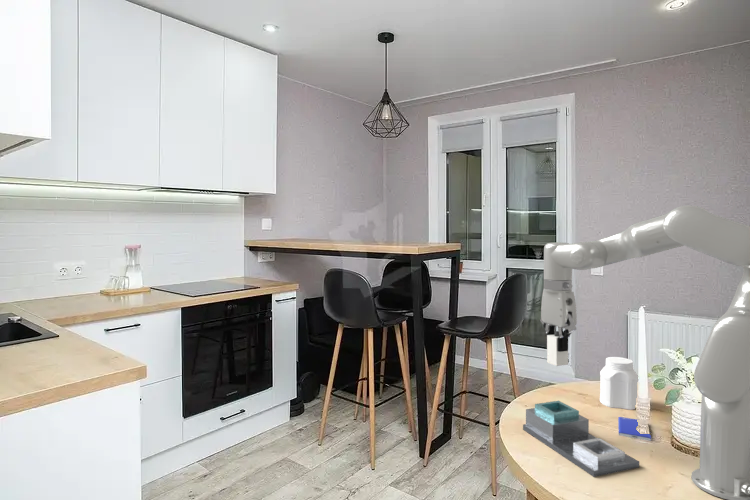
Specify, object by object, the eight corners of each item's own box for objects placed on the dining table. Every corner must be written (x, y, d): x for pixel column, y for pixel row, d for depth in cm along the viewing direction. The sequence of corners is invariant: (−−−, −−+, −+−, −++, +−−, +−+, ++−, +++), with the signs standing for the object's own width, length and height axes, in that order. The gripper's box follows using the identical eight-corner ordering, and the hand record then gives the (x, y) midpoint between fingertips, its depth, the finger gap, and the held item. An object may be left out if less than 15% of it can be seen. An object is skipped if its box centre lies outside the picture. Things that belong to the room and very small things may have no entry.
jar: (601, 406, 155) (601, 362, 155) (598, 396, 164) (599, 354, 164) (640, 411, 151) (641, 365, 151) (635, 400, 160) (636, 357, 160)
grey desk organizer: (639, 467, 116) (639, 435, 115) (593, 477, 111) (594, 444, 111) (562, 423, 142) (562, 397, 142) (523, 429, 138) (523, 403, 138)
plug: (568, 364, 132) (568, 332, 132) (556, 366, 131) (556, 333, 131) (558, 360, 136) (558, 329, 136) (547, 362, 135) (547, 331, 134)
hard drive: (618, 416, 145) (618, 431, 134) (648, 421, 141) (651, 437, 130) (618, 421, 145) (618, 437, 134) (648, 426, 141) (651, 443, 130)
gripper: (590, 288, 126) (589, 355, 127) (549, 282, 142) (548, 341, 142) (567, 289, 123) (566, 357, 124) (528, 283, 139) (528, 343, 140)
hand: (557, 348), depth 133 cm, fingers closed on plug, 4 cm apart
